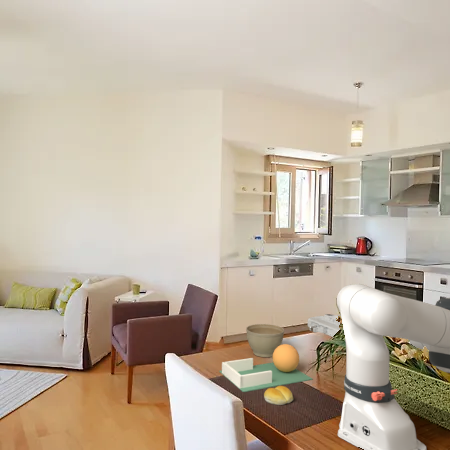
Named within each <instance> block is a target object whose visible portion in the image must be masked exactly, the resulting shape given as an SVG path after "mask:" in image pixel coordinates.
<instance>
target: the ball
mask: <svg viewBox="0 0 450 450" xmlns="http://www.w3.org/2000/svg"><path fill="white" fill-rule="evenodd" d="M299 362H300V354H299V352H298V350H297V349H296V348H295V347H294V346H293V345H291V344H287V343H283V344H281V345H280V346H278V347H277V348H276V349H275V350H274V352H273V356H272V363H274V365H275V366H276V368H277V369H279V370H280V371H283V372H290V371H293V370H294V369H297V367H298V366H299V364H300V363H299Z"/></svg>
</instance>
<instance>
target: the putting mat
mask: <svg viewBox="0 0 450 450" xmlns="http://www.w3.org/2000/svg"><path fill="white" fill-rule="evenodd" d="M270 370H271V371H272V383H268V384H262V385H257V386H251V387H245V388H239V387H238V386H236V385H235V384H234V383H233V382H232V381H231V380H229V379H228V378H227V377H226V376H225V375H224V374H222V369H220V370H218V371H219V373H220V374H221V375H222V376H224V377H225V378H226V379H227V380H228V381H230V383H232V384H233V385H234V386H236V387H237V388H238V389H239V390H240V391H241V392H243V393H247V392H252V391H257V390H258V391H259V390H262V389H269V388H276V387H277V386H286V385H290V384H296V383H301V382H306V381H307V382H308V381H313V379H314V378H313V377H310V376H309V375H307V374H306V373H304V372H302V371H301V370H299V369H297V368H295V369H294V370H293V371H290V372H283V371H280V370H279V369H277V368H276V366H275V365H274V363H273V362H268V363H260V364H255V365H254V364H253V369H251V370H245V371H239V372H238V373H239V374H240V375H246V374H252V373H258V372H264V371H270Z"/></svg>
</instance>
